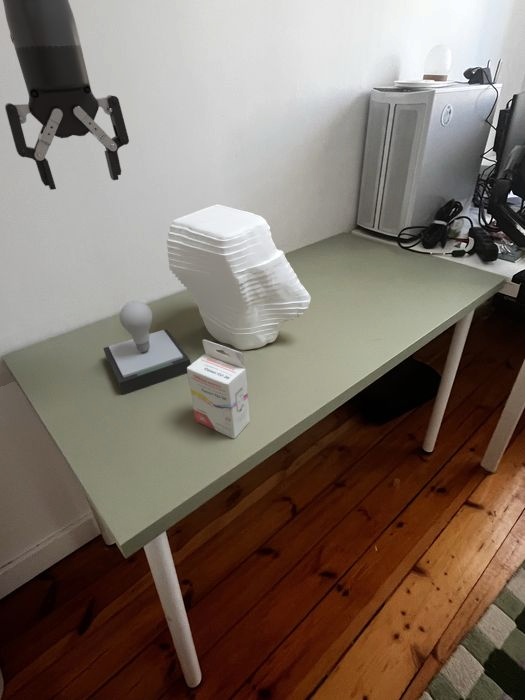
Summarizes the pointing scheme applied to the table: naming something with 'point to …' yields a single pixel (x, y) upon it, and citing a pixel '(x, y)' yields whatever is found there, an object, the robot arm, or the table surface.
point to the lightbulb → (137, 323)
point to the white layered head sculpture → (235, 275)
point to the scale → (146, 362)
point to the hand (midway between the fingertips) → (84, 183)
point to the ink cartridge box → (220, 390)
